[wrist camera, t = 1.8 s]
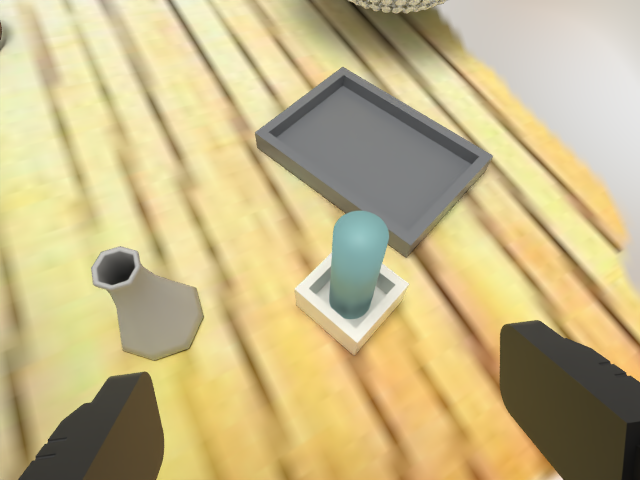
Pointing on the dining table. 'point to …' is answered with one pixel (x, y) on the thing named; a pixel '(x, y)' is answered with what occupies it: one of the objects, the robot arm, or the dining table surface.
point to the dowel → (356, 262)
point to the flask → (147, 305)
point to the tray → (374, 156)
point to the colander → (399, 1)
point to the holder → (346, 331)
